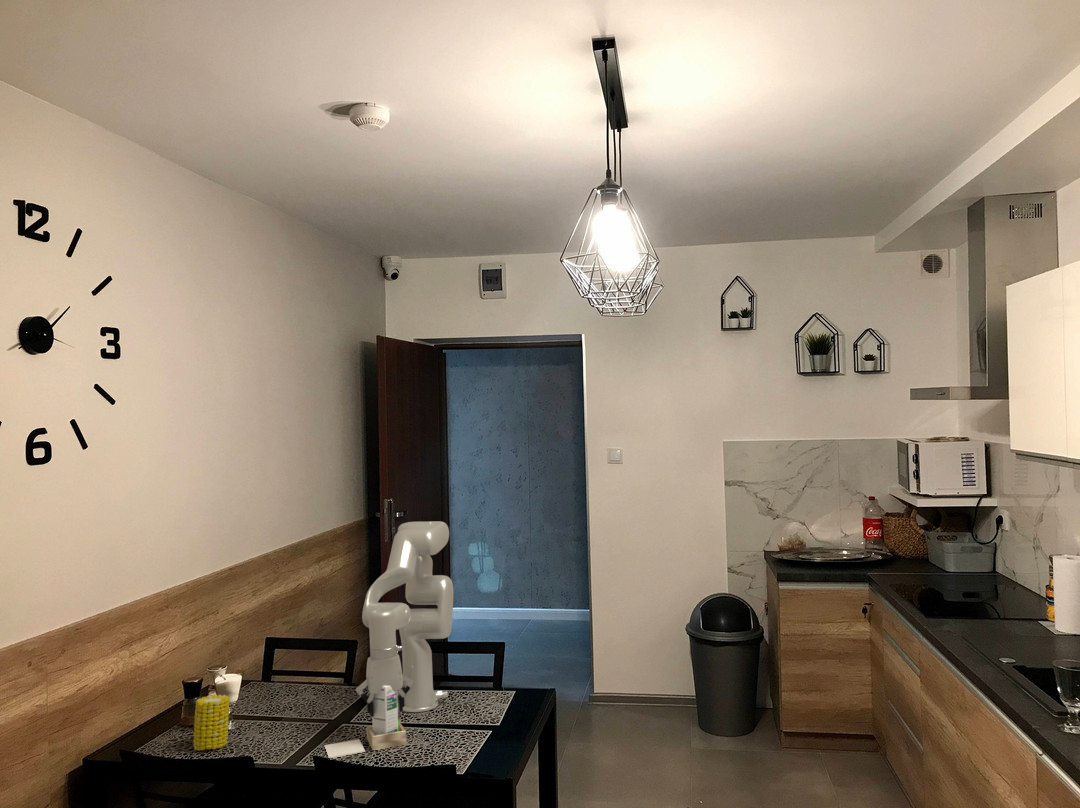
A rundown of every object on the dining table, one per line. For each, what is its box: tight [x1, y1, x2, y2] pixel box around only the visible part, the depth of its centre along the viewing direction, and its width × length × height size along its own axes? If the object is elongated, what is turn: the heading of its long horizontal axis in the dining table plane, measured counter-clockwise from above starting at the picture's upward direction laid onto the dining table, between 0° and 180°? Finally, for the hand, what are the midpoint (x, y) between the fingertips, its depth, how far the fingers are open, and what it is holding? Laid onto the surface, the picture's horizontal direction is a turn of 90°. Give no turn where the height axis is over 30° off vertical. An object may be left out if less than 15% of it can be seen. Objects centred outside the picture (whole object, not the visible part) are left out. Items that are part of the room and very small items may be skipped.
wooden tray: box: [366, 722, 407, 751], centre depth 241 cm, size 10×10×4 cm
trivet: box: [323, 738, 366, 760], centre depth 237 cm, size 10×10×1 cm
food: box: [192, 693, 230, 751], centre depth 245 cm, size 15×12×10 cm
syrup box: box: [371, 686, 401, 736], centre depth 242 cm, size 6×6×14 cm
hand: (386, 712), depth 242 cm, fingers closed on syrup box, 8 cm apart
